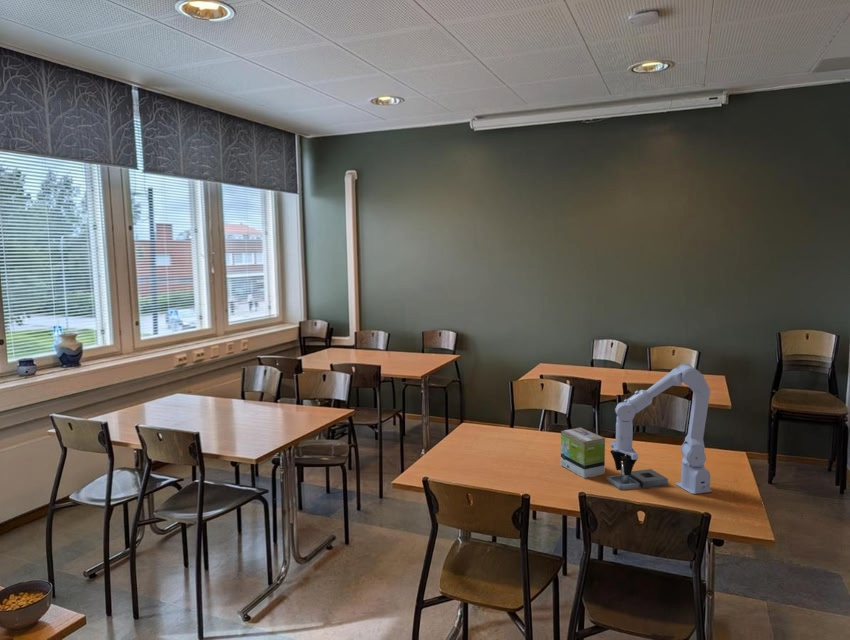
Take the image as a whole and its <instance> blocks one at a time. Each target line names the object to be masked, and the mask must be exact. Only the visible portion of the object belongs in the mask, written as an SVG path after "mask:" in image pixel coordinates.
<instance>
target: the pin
mask: <svg viewBox="0 0 850 640" xmlns="http://www.w3.org/2000/svg"><path fill="white" fill-rule="evenodd" d="M620 463H621V470H620V475H621V482H622V483H626V484H627V483H629V476H630V475H624V467H623V462H622V460H620Z"/></svg>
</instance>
